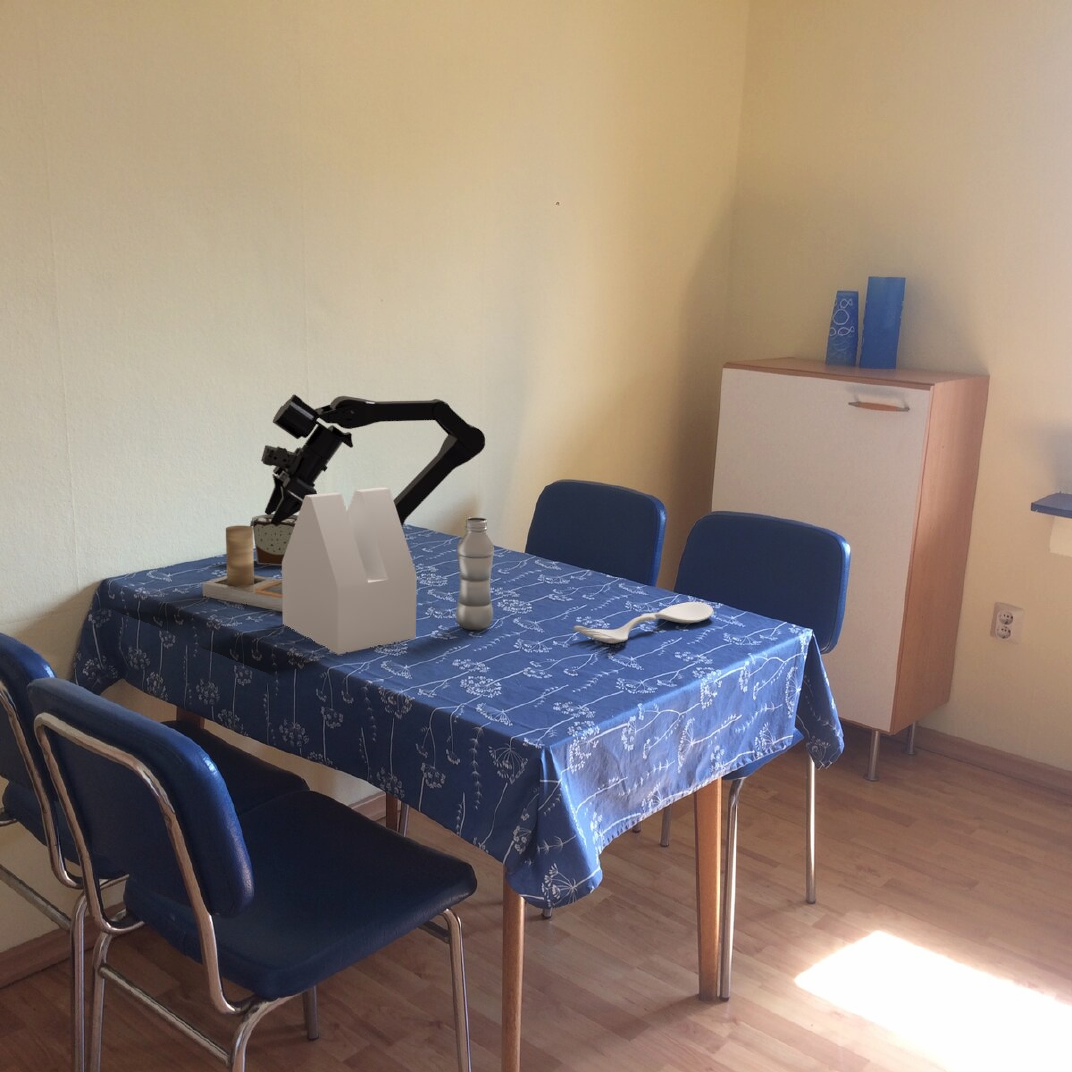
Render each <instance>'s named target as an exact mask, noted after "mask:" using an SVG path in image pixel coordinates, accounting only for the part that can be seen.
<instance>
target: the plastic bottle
mask: <svg viewBox="0 0 1072 1072" xmlns="http://www.w3.org/2000/svg"><path fill="white" fill-rule="evenodd" d="M465 519H466V520H465V526H464V527H465V528H464V530H465V531H466V532H465V534H464V535H463V536H462V537H461V539H460V540H459V541H458V543H457V547H456V553H457V561H458V562H457V563H458V569H459V590H458V591H459V592H458V599H457V600H458V602H457V604H456V609H455V618H456V622H457V625H458V626H459V627H460V628H462V629H465V630H471V631H472V630H473V631H477V630H478V631H480V630H485V629H488V628H489V627H490V626H491V624H492V623H493V619H494V618H493V617H494V609H493V603H492V596H491V576H492V575H491V574H492V568H493V561H494V560H493V559H494V555H495V547H494V544H493V541H492V540H491V538H490V536H488V534H487V531H488V519H487V518H485V517H480V516H479V517H476V516H475V517H467V518H465Z"/></svg>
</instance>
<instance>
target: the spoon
mask: <svg viewBox="0 0 1072 1072" xmlns="http://www.w3.org/2000/svg"><path fill="white" fill-rule="evenodd" d="M714 612H715V611H714V609H713V607H712V606H711V605H710V604H707V603H704V602H700V601H687V602H682V603H678V604H673V605H671V606H668V607H666V608H662V609H661V610H659V611H658V612H650V613H642V614H641V615H640V616H637V617H635V618H633V619H630V621H628V622H627V623H626V624H624V625H622V626H621V627H618V628H616V629H605V628H604V629H603V628H601V629H600V628H589V627H586V626H581V625H574V626H573V631H574V632H577V633H581V635H585V636H586V637H588V638H591V639H593V640H596V641H599V642H603V643H607V644H608V643H609V644H618V643H622V642H625V641H627V640H628V639H629V634H630V632H631V631H632V629H634V627H635V626H637V625H638V624H640V623H644V622H650V621H651V622H652V621H653V622H654V621H656V620H657V619H661V620H662V619H663V620H666V621H670V622H673V623H679V624H694V623H700V622H701V621H705V620H707V619H709V618H710V617H711V616H713V614H714Z"/></svg>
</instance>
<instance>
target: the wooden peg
mask: <svg viewBox="0 0 1072 1072" xmlns="http://www.w3.org/2000/svg"><path fill="white" fill-rule="evenodd" d="M225 545H226V546H225V548H226V549H225V550H226V551H225V552H226V576H227V585H228V586H234V587H239V588H245V587H248V586H251V585H254V575H255V572H254V571H255V569H254V568H255V565H254V559H255V558H254V532H253V526H252V527H250V525H240V524H239V525H230V526H227V527H225Z"/></svg>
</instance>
